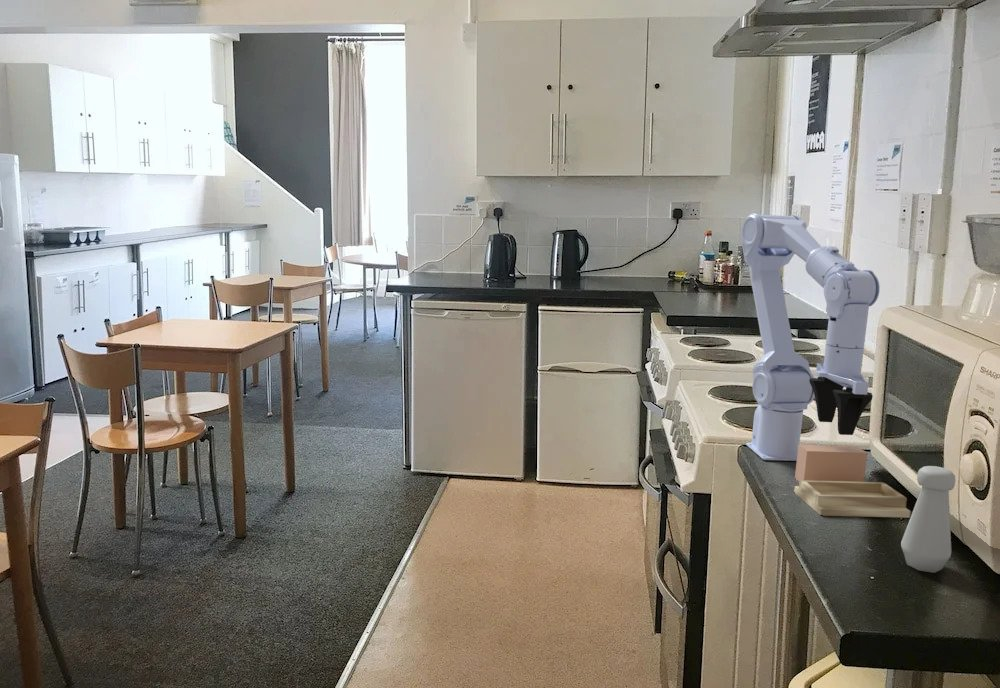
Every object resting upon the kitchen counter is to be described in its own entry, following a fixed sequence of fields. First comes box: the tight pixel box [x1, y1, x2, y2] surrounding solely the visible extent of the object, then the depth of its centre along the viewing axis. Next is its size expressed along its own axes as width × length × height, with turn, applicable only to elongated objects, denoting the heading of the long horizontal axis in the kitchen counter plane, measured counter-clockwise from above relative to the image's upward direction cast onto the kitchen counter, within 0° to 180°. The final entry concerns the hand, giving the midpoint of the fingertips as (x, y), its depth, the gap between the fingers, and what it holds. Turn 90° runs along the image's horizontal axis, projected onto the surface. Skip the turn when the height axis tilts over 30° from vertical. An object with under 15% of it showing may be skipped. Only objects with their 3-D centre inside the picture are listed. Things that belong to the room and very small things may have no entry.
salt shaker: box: [900, 465, 956, 574], centre depth 112 cm, size 6×6×13 cm
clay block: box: [794, 444, 868, 482], centre depth 144 cm, size 4×10×6 cm, turn 93°
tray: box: [793, 480, 912, 519], centre depth 134 cm, size 10×14×2 cm
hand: (835, 427), depth 143 cm, fingers open, 7 cm apart
